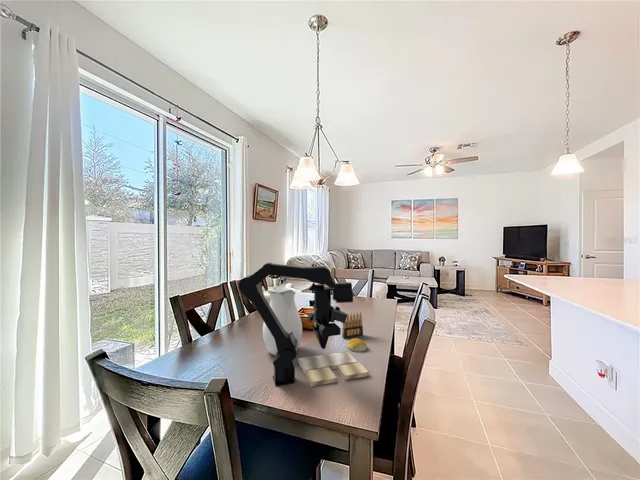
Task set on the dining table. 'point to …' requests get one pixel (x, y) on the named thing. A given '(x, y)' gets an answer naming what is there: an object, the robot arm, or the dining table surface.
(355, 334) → the ammunition clip
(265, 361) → the dining table surface
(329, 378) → the plank inner
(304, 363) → the board
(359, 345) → the bread roll
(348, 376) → the plank outer
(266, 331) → the pitcher
